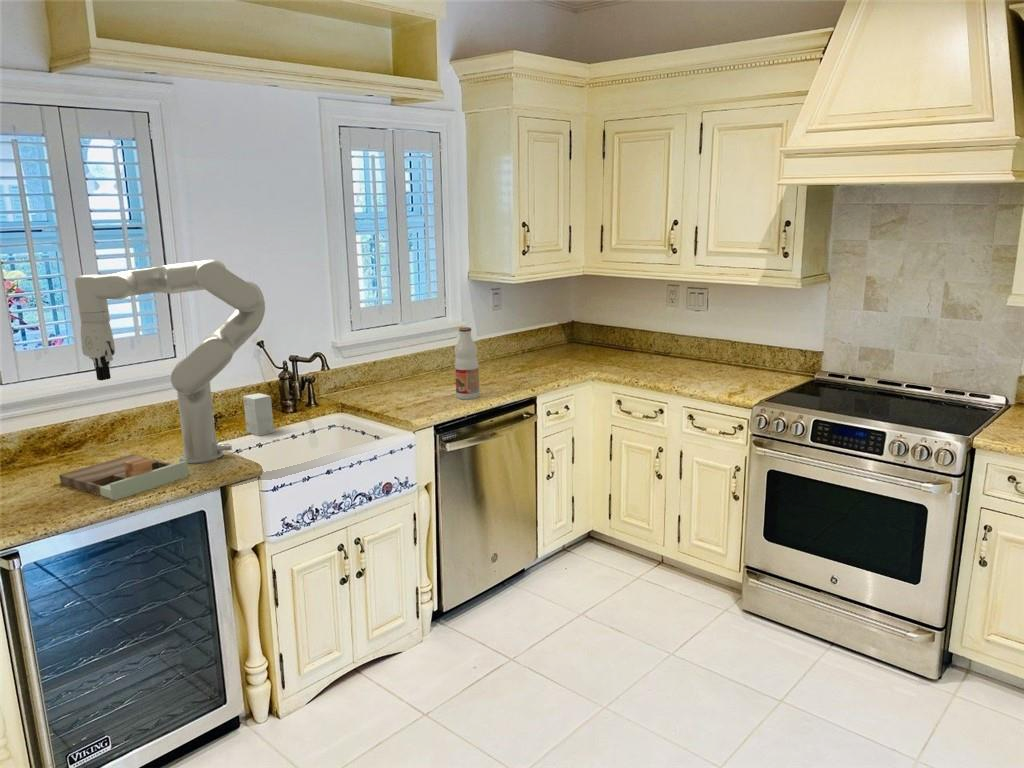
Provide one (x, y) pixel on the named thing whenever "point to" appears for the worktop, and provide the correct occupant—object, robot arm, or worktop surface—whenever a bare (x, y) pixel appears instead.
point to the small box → (258, 414)
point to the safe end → (145, 481)
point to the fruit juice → (466, 366)
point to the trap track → (102, 474)
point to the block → (137, 466)
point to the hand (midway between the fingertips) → (104, 379)
